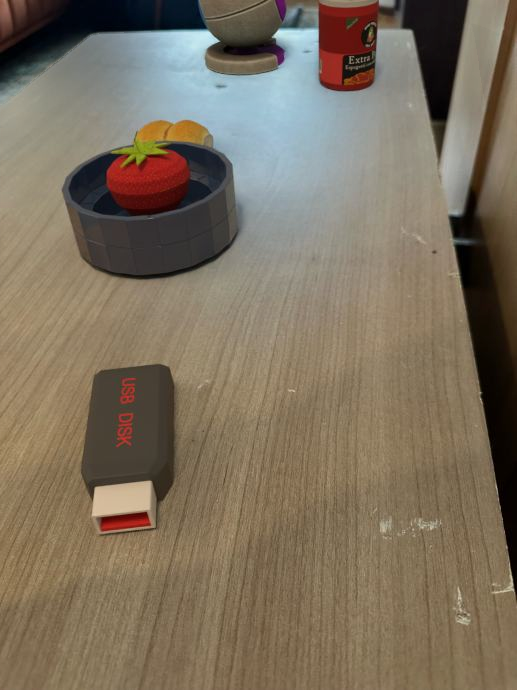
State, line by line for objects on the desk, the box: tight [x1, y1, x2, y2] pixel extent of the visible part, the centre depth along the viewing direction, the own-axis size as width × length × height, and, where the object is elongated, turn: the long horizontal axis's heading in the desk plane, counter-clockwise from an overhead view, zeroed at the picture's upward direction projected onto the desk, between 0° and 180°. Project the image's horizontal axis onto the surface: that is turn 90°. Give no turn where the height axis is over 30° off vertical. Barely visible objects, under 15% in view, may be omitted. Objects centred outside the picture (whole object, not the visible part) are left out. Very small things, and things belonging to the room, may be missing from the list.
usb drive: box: [80, 363, 175, 535], centre depth 40 cm, size 5×12×3 cm, turn 6°
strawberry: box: [107, 130, 191, 216], centre depth 58 cm, size 6×8×10 cm
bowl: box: [61, 141, 239, 276], centre depth 60 cm, size 15×15×6 cm
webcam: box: [197, 0, 288, 75], centre depth 94 cm, size 13×13×15 cm
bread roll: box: [132, 119, 214, 149], centre depth 73 cm, size 8×9×4 cm
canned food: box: [317, 0, 380, 92], centre depth 86 cm, size 8×8×11 cm
